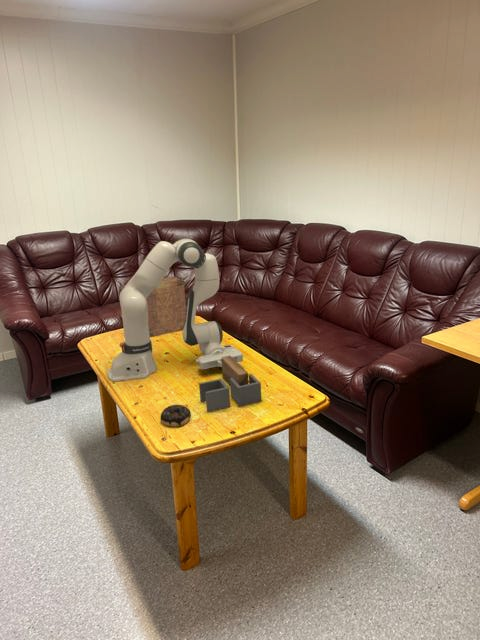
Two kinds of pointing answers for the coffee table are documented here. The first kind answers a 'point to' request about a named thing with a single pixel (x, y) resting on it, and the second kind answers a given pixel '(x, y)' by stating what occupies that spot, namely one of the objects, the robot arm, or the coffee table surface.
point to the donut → (175, 415)
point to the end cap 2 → (246, 391)
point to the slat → (233, 371)
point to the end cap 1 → (214, 394)
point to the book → (167, 307)
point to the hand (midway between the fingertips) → (226, 365)
